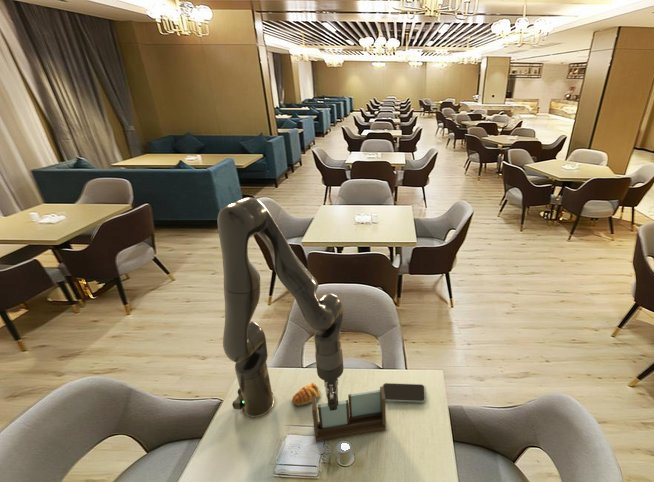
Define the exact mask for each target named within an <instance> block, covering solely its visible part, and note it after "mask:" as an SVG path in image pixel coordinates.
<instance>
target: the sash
mask: <svg viewBox="0 0 654 482" xmlns="http://www.w3.org/2000/svg"><path fill="white" fill-rule="evenodd" d="M335 390H336V389H335ZM335 390H333V391H335ZM328 391H329V390H328ZM317 413H318V421H319V422H320V429H324V428H330V427H336V426H342V425H348V424H350V415H349V399H346V400H339V393H338V394H337V410H333V411H330V408H329V407H328V402H327V403H318V404H317Z"/></svg>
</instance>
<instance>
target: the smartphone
mask: <svg viewBox="0 0 654 482" xmlns="http://www.w3.org/2000/svg"><path fill="white" fill-rule="evenodd" d="M382 386H383V389H384V394H385V399H386V402H389V403H391V402H393V403H417V404H419V403H420V404H422V403H423V404H424V402H425V401H426V392H425V385H423V384H416V383H415V384H414V383H395V382H394V383H392V382H391V383H390V382H388V383H387V382H386V383H383V385H382Z"/></svg>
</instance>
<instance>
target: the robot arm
mask: <svg viewBox="0 0 654 482" xmlns="http://www.w3.org/2000/svg"><path fill="white" fill-rule="evenodd" d="M216 222H217V230H218V232H217V233H218V236H219V243H220V249H221V255H222V267H223V269H222V270H223V296H224V298H223V299H224V326H223V336H222V348H223V351H224V353H225V355H226V357H227V358H228V359H229V360H230V361H231V362H234V370H235V375H236V380H237V383H238V387H239V388H238V389H237V395H238V396H237V397H236V398H235V400H233V401H232V403H231V405H232V407H233V409H234V410H240V411H241V410H242V412H243V413H245V415H246V416H247V417H249V418H252V419H253V418H254V419H257V418H261V417H263V416H266V415H267V414H268V413H270V411H271V410H272V409H273V407H274V405H275V400H274V393H273V390H272V385H271V380H270V375H269V369H268V365H267V361H268V355H269V354H268V346H267V338H266V334H265V332H264V330H263V328H262V327H261V325H260V324H258V323H257V322H255V321H252V318H253V316H254V314H255V312H256V309H257V307H258V304H259V302H260V298H261V276H260V273H259V271H258V269H257V268H256V266H254V264H253V263H252V262H251V261H250V259H249V254H248V253H249V251H248V247H249V246H248V245H249V240H250V238H251V237H253V236H255V235H257V236H259V237H260V239H261V240H262V241H263V242H264V244H265V245H266V247H267V249H268V251H269V254H270V256H271V260H272V264H273V268H274V271H275V275H276V276H277V278H278V280H279V282H280V283H281V284H282V286H284V288H285V289H286V290H287V291H288V292H289V293H290V294H291V295H292V296H293V298H294V299H295V301H296V303H297V305H298V308H299V310H300V312H301V315H302V317H303V318H304V320H305V322H306V323H307V324H308V326H309V327H310V328H312V329H313V330H315V332H314V338H313V339H314V347H315V354H314V355H315V365H316V374H317V376H318V378H319V379H320V380H322V381H323V384H324V388H325V396H326V399H327V403H328V407H329V408H330V411H333V410H337V394H338V395H339V388H338V386H339V378H340V377H341V376H342V375H343V373H344V355H343V348H342V341H341V339H342V338H341V329H342V325H343V320H344V319H343V318H344V306H343V305H344V304H343V302H342V300H341V299H340V297H338V295H336V294H334V293H326V294H323V295H321V296H320V298H318V297H317V290H318V288H319V282H318V280H317V279H316V278H315V277H314V276H313V274H311V272H310V271H309V270H308V269H307V267H306V266H305V265H304V264H303V262H302V261H301V260H300V259H299V258H298V256H297V255H296V254H295V252H294V250H293V248H291V245H290V244H289V242H288V241H287V239H286V237H285V236H284V234H283V232H282V231H281V229H280V228H279V226H278V224H277V223H276V221H275V219H274V218H273V216H272V214H271V213H270V211H269V210H268V208H267V207H266V205H264V203H263V202H261V201H260V200H259V199H257V198H255V197H244V198H242V199H239V200H237V201H235V202H233V203H232V202H231V203H230V204H228V205H225V206H224V207H222V208H221V209H220V210H219V212H218V215H217V221H216ZM335 389H336V390H335ZM328 390H329V391H328ZM333 390H335V391H333Z"/></svg>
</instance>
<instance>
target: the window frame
mask: <svg viewBox="0 0 654 482" xmlns="http://www.w3.org/2000/svg"><path fill="white" fill-rule="evenodd" d="M347 397H348V398H347V400H348V402H349V417H350V424H348V425H342V426H336V427H330V428H324V429H320V421H319V413H318V404H317V400H316V396H315V397H312V402H311V413H312V414H311V415H312V422H313V431H314V437H315V438H314V439H315V443H319V442H326V441H331V440H337V439H343V438H348V437H354V436H361V435H367V434H371V433H377V432H384V431H386V430H387V425H386V424H387V423H386V421H387V420H386V414H387V413H386V411H387V409H386V408H387V407H386V406H387V405H386V404H387V403H386V402H387V401H386V399H385V394H384V389H383V385H382V386H379V389H377V390H372V391H364V392H357V393H349V394H348V395H347Z"/></svg>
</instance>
